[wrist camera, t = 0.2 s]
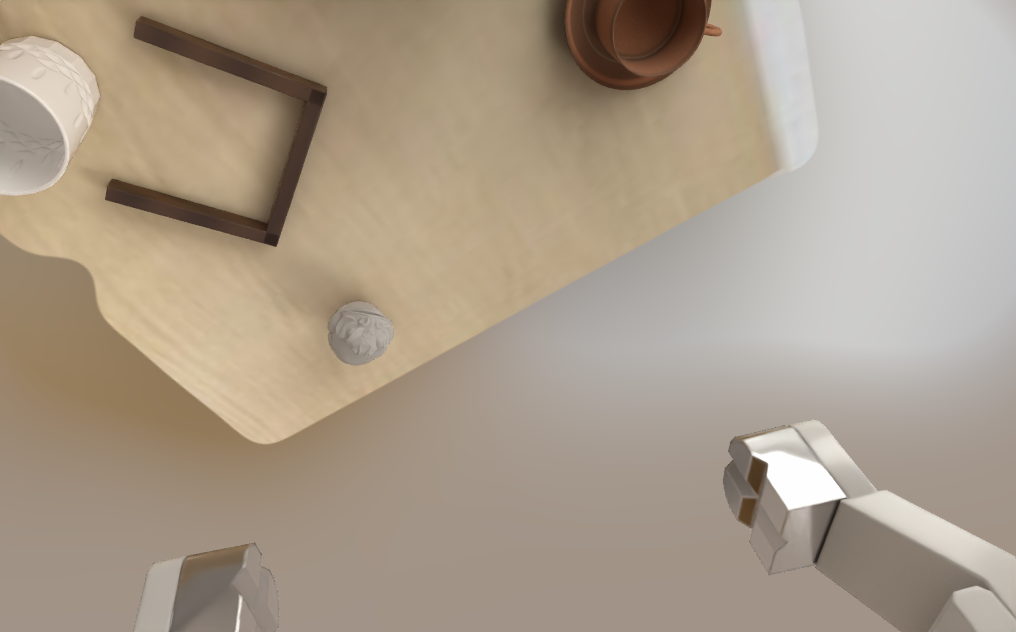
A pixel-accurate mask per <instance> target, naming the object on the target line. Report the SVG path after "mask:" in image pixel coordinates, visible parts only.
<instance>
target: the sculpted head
mask: <svg viewBox="0 0 1016 632" xmlns="http://www.w3.org/2000/svg"><path fill="white" fill-rule="evenodd" d="M328 329H329V331H330V332H329V334H328V340H329V345H330V347H331V349H332V350H333V351H334V353H335V355H336V356H337V357H338V358H339V359H340V360H341V361H342V362H344V363H346V364H350V365H362V364H366V363H369V362H370V361H372V360H374V359H375V358H377V357H379V356H381V355H382V354H383V353H384V352H385V351H386V348H387V346H388V345H389V343H390V342H391V340H392V338H393V334H394V328H393V325H392V321H391V320H390V319H389V318H388V317H386V316H385V315H384V314H382V313H381V311H380V310H379V309H378V308H377V307H375V306H374V305H372V304H371V303H368V302H364V301H354V302H350V303H348V304H346V305H343V306H342V307H340V308H339V309H338V311H337V312H336V313H335V314H334V315H333V316H332V317H331V319H330V321H329V323H328Z"/></svg>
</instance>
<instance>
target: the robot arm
mask: <svg viewBox="0 0 1016 632" xmlns="http://www.w3.org/2000/svg"><path fill="white" fill-rule="evenodd" d="M728 452H729V454H730V455H731V457H732V458H733V460H732V461H731V462H730V463H729V464H728V465H727V467H726V468H725V470H724V477H723V484H724V490H725V496H726V499H727V501H728V504H729V506H730V508H731V510H732V512H733V514H734V516H735V518H736V519H737V520H738V521H739V522H741V523H743V524H744V525H746V526H748V527H749V528H751V534H750V541H749V542H750V544H751V545H752V547H753V549H754V551H755V552H756V554H757V556H758V558H759V559H760V560H761V563H762V564H763V566H764V568H765V569H766V571H767V573H768V574H769V575H771V574H776V573H781V572H785V571H790V570H795V569H799V568H804V567H809V566H813V565H816V566H815V568H816V569H817V570H819V571H820V572H821V573H823V574H824V575H826V576H827V577H828V578H829V579H831V580H832V581H834V582H835V583H836V584H838V585H839V586H840V587H842V588H843V589H844V590H846V591H847V592H848V593H850V594H851V595H852V596H854V597H855V598H856V599H858V600H859V601H861V602H862V603H863V604H865V605H866V606H867V607H869V608H870V609H871V610H873V611H874V612H875V613H877V614H878V615H880V616H881V617H882V618H883V619H885V620H886V621H887V622H889V623H890V624H892V625H893V626H894V627H896V628H897V629H898V630H900V631H901V632H1016V557H1015V556H1013V555H1011V554H1009V553H1007V552H1006V551H1004V550H1002V549H1000V548H998V547H996V546H994V545H992V544H990V543H988V542H986V541H984V540H982V539H980V538H978V537H976V536H974V535H973V534H971V533H969V532H967V531H965V530H963V529H961V528H959V527H957V526H955V525H953V524H951V523H949V522H947V521H945V520H943V519H941V518H940V517H938V516H936V515H933V514H932V513H930V512H928V511H926V510H924V509H922V508H920V507H918V506H916V505H914V504H912V503H910V502H909V501H907V500H905V499H903V498H901V497H899V496H897V495H895V494H893V493H891V492H889V491H887V490H882V491H877V490H876V489H875V487H874V486H873V485H872V484H871V482H870V481H869V480H868V479H867V478H866V476H865V475H864V474H863V473H862V472H861V470H860V469H859V468H858V467H857V465H856V464H855V463H854V462H853V460H852V459H851V458H850V457H849V456H848V454H847V453H846V452H845V451H844V450H843V448H842V447H841V446H840V444H839V443H838V442H837V441H836V439H835V438H834V437H833V436H832V435H831V433H830V432H829V431H828V430H827V428H826V427H825V426H824V425H823V424H822V423H821V422H819V421H817V420H809V421H805V422H801V423H796V424H792V425H788V426H785V425H784V426H780V427H775V428H771V429H767V430H762V431H758V432H754V433H750V434H745V435H741V436H737V437H734V438H733V439H732V441H731V442H730V446H729V450H728ZM261 556H262V554H261V552H260V550H259V549H258V547H257V545H256V544H255V543H250V544H245V545H240V546H235V547H230V548H224V549H220V550H214V551H210V552H204V553H199V554H194V555H188V556H184V557H179V558H174V559H169V560H164V561H160V562H155V563H153V565H152V566H151V568H150V570H149V571H148V573H147V575H146V579H145V584H144V588H143V592H142V596H141V600H140V604H139V608H138V613H137V617H136V621H135V625H134V629H133V632H275V631H276V630H277V628H278V624H279V602H278V591H277V587H276V584H275V580H274V577H273V575H272V573H271V571H270V570H269V569H267V568H264V567H262V566H261Z"/></svg>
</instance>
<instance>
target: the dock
mask: <svg viewBox="0 0 1016 632" xmlns="http://www.w3.org/2000/svg"><path fill="white" fill-rule="evenodd" d="M134 38H136V39H139V40H141V41H144V42H147V43H150V44H152V45H155V46H158V47H160V48H163V49H166V50H168V51H171V52H174V53H177V54H179V55H182V56H185V57H187V58H190V59H193V60H196V61H198V62H201V63H204V64H206V65H209V66H212V67H214V68H217V69H220V70H223V71H225V72H228V73H231V74H233V75H236V76H239V77H242V78H244V79H247V80H250V81H252V82H255V83H258V84H261V85H263V86H266V87H269V88H271V89H274V90H277V91H279V92H282V93H285V94H288V95H290V96H293V97H296V98H298V99H301V100H304V101H305V104H304V108H303V111H302V114H301V117H300V120H299V123H298V127H297V130H296V133H295V136H294V139H293V143H292V146H291V149H290V152H289V155H288V158H287V162H286V165H285V168H284V171H283V174H282V178H281V181H280V184H279V187H278V190H277V194H276V197H275V200H274V203H273V206H272V209H271V213H270V216H269V219H268V222H267V223H264V222H260V221H257V220H253V219H250V218H246V217H243V216H239V215H236V214H233V213H229V212H226V211H222V210H219V209H215V208H212V207H208V206H205V205H201V204H198V203H194V202H191V201H187V200H184V199H180V198H177V197H173V196H170V195H166V194H163V193H159V192H156V191H152V190H149V189H145V188H142V187H139V186H135V185H132V184H128V183H125V182H121V181H118V180H114V179H112V180H111V182H110V183H109V185H108V187H107V191H106V197H105V200H108V201H111V202H115V203H119V204H122V205H126V206H130V207H133V208H137V209H140V210H144V211H148V212H151V213H155V214H159V215H162V216H166V217H170V218H173V219H177V220H180V221H184V222H188V223H191V224H195V225H199V226H202V227H206V228H210V229H213V230H217V231H221V232H224V233H228V234H231V235H235V236H239V237H242V238H246V239H250V240H253V241H257V242H261V243H264V244H268V245H271V246H275V247H276V246H277V244H278V241H279V238H280V235H281V231H282V228H283V225H284V222H285V219H286V216H287V213H288V210H289V207H290V204H291V201H292V198H293V195H294V192H295V189H296V186H297V183H298V180H299V177H300V174H301V171H302V168H303V164H304V161H305V158H306V155H307V152H308V149H309V146H310V143H311V140H312V137H313V134H314V131H315V128H316V125H317V122H318V119H319V116H320V113H321V110H322V107H323V104H324V101H325V98H326V95H327V87H325V86H323V85H320V84H318V83H315V82H312V81H310V80H307V79H304V78H302V77H299V76H297V75H294V74H291V73H289V72H286V71H284V70H281V69H278V68H276V67H273V66H271V65H268V64H265V63H263V62H260V61H258V60H255V59H252V58H250V57H247V56H244V55H242V54H239V53H237V52H234V51H231V50H229V49H226V48H224V47H221V46H218V45H216V44H213V43H211V42H208V41H205V40H203V39H200V38H198V37H195V36H192V35H190V34H187V33H184V32H182V31H179V30H177V29H174V28H171V27H169V26H166V25H164V24H161V23H158V22H156V21H153V20H151V19H148V18H145V17H143V16H141V17H140V18H139V19H138V20H137V21H136V26H135V32H134Z"/></svg>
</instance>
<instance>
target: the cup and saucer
mask: <svg viewBox="0 0 1016 632" xmlns="http://www.w3.org/2000/svg"><path fill="white" fill-rule="evenodd" d="M710 8H711V0H567V1H566V7H565V19H564V21H565V33H566V38H567V43H568V46H569V49H570V52H571V54H572V56H573V58H574V60H575V61H576V63H577V65H578V66H579V67H580V69H581V70H582V71H583V72H584V73H585V74H586V75H587V76H588V77H590V78H591V79H592V80H594V81H595V82H597V83H599V84H601V85H603V86H606V87H608V88H612V89H618V90H634V89H640V88H644V87H647V86H650V85H653V84H655V83H657V82H659V81H661V80H663V79H664V78H666V77H668V76H669V75H670V74H672V73H673V72H674V71H675V70H677V69H678V68H679V67H681V66H682V65H683V64H684V63H686V62H687V61H688V60H689V58H690V57H691V56H692V55H693V54H694V52H695V51H696V49H697V48H698V46H699V44H700V42H701V40H702V38H703V35H709V36H720V35H721V34H722V30H721V29H720V28H718V27H716V26H713V25H711V24H707V21H708V17H709V13H710Z"/></svg>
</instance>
